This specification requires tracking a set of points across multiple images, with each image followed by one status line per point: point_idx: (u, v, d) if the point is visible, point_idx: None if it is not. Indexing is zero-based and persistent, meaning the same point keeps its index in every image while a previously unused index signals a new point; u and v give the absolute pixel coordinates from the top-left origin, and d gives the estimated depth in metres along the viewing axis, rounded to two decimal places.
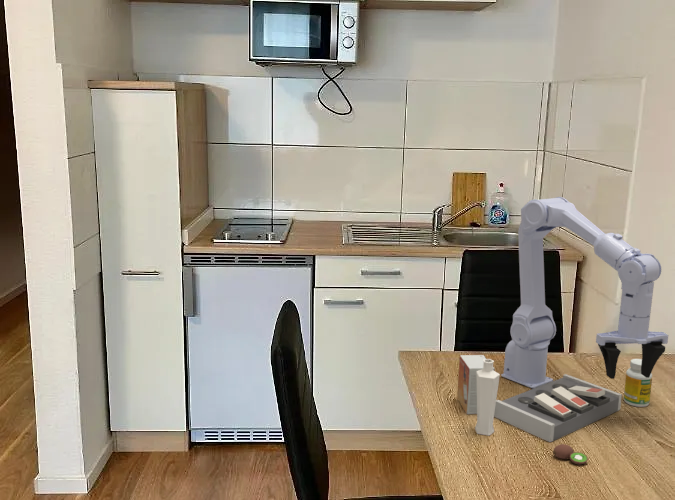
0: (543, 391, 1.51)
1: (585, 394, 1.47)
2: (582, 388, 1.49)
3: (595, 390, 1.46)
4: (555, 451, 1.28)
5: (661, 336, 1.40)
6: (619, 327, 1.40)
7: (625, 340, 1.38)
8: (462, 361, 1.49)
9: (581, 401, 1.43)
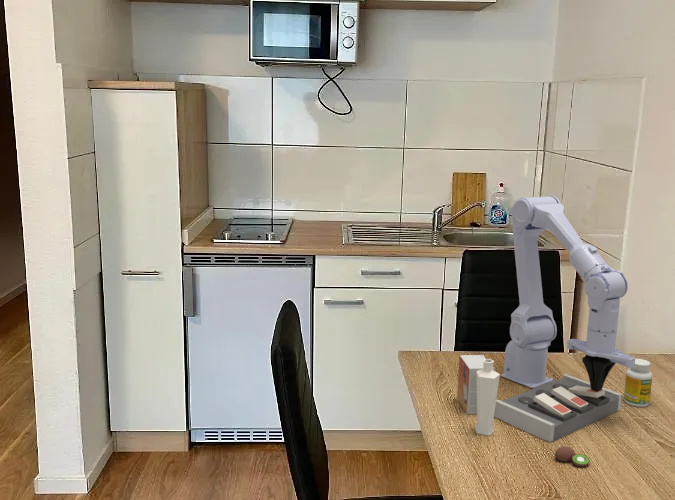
0: (543, 391, 1.51)
1: (585, 394, 1.47)
2: (582, 388, 1.49)
3: None
4: (557, 454, 1.27)
5: (621, 358, 1.39)
6: None
7: (582, 349, 1.45)
8: (462, 361, 1.49)
9: (581, 401, 1.43)
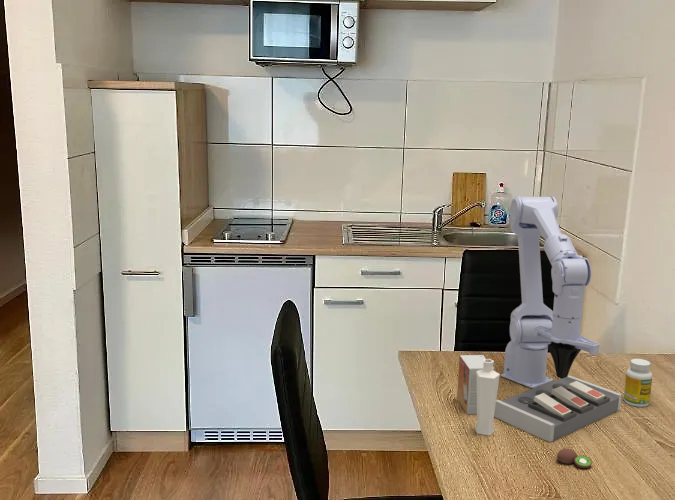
0: (543, 391, 1.51)
1: (585, 395, 1.47)
2: (583, 387, 1.49)
3: (596, 394, 1.46)
4: (559, 456, 1.26)
5: (585, 345, 1.39)
6: None
7: (547, 336, 1.44)
8: (462, 361, 1.49)
9: (581, 401, 1.43)
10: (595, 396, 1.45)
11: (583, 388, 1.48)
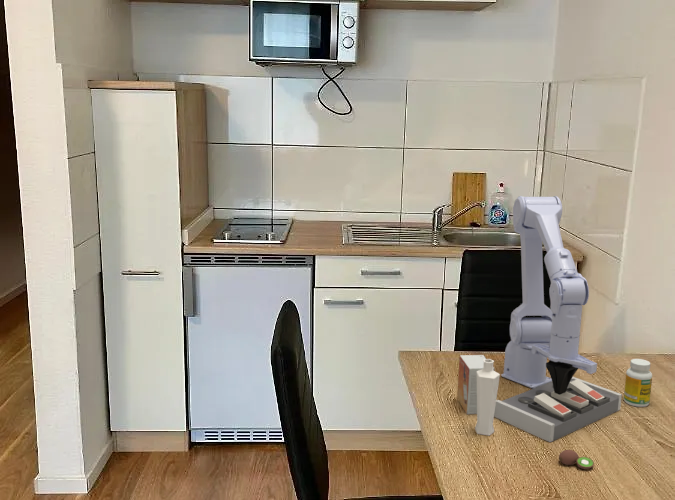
0: (543, 391, 1.51)
1: (585, 395, 1.47)
2: (583, 386, 1.49)
3: (596, 395, 1.46)
4: (561, 458, 1.26)
5: (583, 364, 1.39)
6: None
7: (545, 354, 1.45)
8: (462, 361, 1.49)
9: (581, 399, 1.43)
10: (595, 398, 1.45)
11: (583, 388, 1.48)
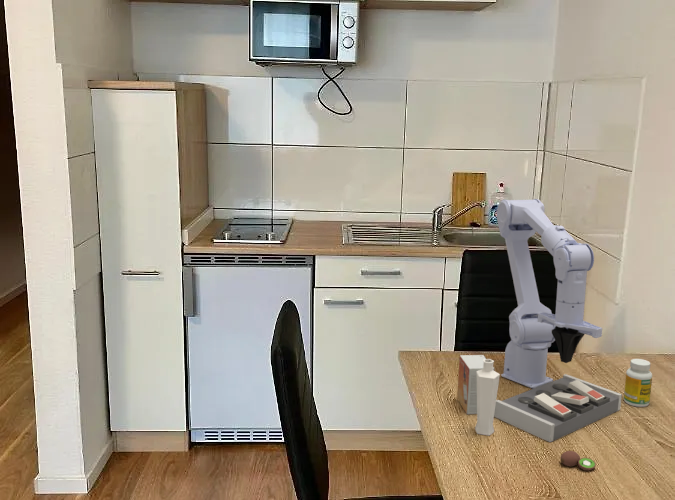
0: (543, 391, 1.51)
1: (585, 395, 1.47)
2: (583, 387, 1.49)
3: (596, 395, 1.46)
4: (563, 459, 1.25)
5: (588, 328, 1.42)
6: None
7: (551, 321, 1.48)
8: (462, 361, 1.49)
9: (580, 396, 1.43)
10: (595, 397, 1.45)
11: (583, 388, 1.48)
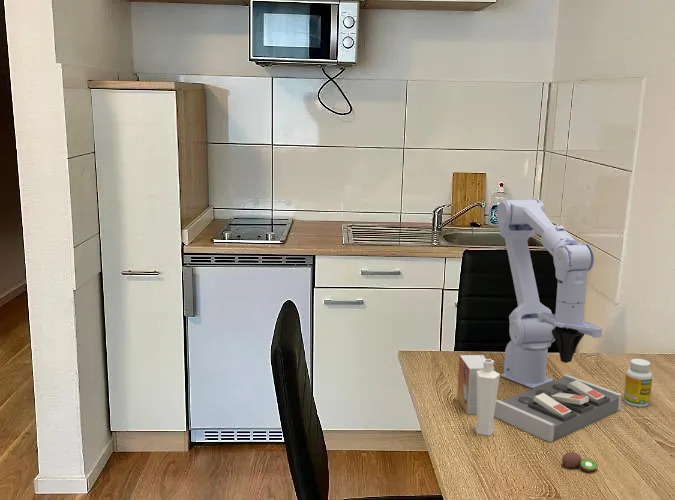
0: (543, 391, 1.51)
1: (585, 395, 1.47)
2: (583, 387, 1.49)
3: (596, 395, 1.46)
4: (565, 460, 1.25)
5: (588, 328, 1.42)
6: None
7: (551, 321, 1.48)
8: (462, 361, 1.49)
9: (580, 396, 1.43)
10: (595, 397, 1.45)
11: (583, 388, 1.48)
